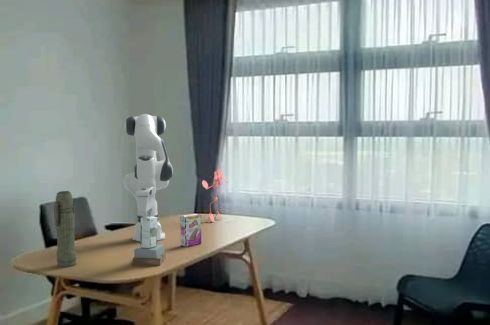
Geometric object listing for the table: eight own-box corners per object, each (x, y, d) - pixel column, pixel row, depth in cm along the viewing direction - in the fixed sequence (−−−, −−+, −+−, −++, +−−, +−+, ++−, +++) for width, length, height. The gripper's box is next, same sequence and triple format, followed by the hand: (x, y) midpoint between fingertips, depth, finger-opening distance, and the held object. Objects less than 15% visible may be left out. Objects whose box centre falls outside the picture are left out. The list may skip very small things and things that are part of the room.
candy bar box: (186, 247, 293) (185, 217, 292) (180, 246, 297) (179, 215, 295) (202, 243, 301) (201, 214, 300) (196, 242, 304) (195, 213, 303)
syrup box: (147, 245, 267) (147, 215, 266) (157, 246, 264) (157, 216, 264) (140, 247, 262) (140, 217, 261) (150, 248, 259) (150, 217, 259)
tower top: (142, 252, 270) (142, 244, 270) (164, 252, 268) (164, 244, 268) (134, 257, 260) (134, 249, 259) (156, 258, 258) (156, 249, 257)
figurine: (199, 223, 359) (199, 170, 356) (219, 217, 381) (219, 167, 379) (219, 226, 352) (219, 171, 349) (238, 219, 374) (239, 168, 371)
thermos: (82, 262, 266) (79, 190, 263) (67, 268, 254) (64, 193, 252) (66, 261, 268) (63, 189, 266) (51, 267, 257) (47, 193, 254)
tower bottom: (139, 260, 271) (139, 252, 271) (165, 260, 270) (165, 252, 270) (132, 267, 258) (132, 258, 258) (160, 267, 257) (160, 258, 257)
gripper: (145, 187, 273) (146, 214, 274) (134, 193, 252) (135, 222, 254) (157, 187, 272) (158, 214, 274) (148, 192, 252) (148, 222, 253)
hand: (147, 218), depth 263 cm, fingers open, 8 cm apart
